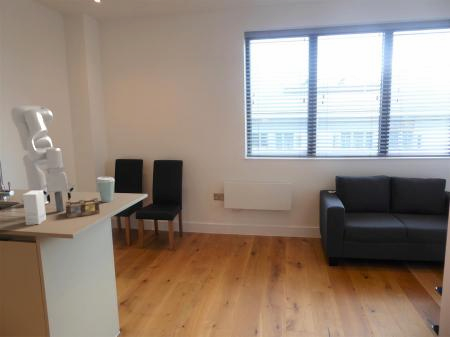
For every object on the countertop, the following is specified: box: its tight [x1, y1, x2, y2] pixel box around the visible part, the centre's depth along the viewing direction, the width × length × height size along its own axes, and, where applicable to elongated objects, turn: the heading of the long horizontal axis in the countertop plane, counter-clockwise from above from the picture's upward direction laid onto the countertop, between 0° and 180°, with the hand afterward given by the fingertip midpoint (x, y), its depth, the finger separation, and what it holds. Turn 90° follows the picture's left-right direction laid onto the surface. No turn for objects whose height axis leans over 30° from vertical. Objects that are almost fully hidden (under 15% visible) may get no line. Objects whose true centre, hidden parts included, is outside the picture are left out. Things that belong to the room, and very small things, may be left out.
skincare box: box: [22, 190, 47, 226], centre depth 157 cm, size 8×7×16 cm
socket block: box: [65, 197, 101, 219], centre depth 171 cm, size 16×11×6 cm
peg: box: [53, 191, 65, 213], centre depth 175 cm, size 4×4×11 cm
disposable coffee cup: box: [96, 176, 116, 203], centre depth 195 cm, size 11×11×15 cm
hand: (59, 201), depth 175 cm, fingers open, 9 cm apart
